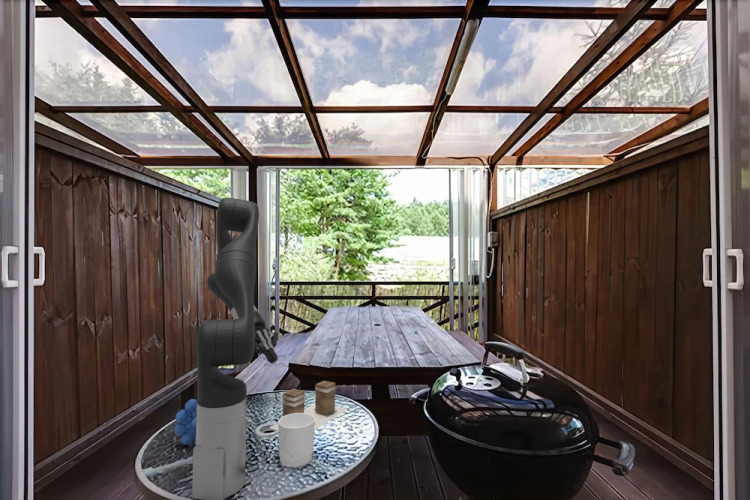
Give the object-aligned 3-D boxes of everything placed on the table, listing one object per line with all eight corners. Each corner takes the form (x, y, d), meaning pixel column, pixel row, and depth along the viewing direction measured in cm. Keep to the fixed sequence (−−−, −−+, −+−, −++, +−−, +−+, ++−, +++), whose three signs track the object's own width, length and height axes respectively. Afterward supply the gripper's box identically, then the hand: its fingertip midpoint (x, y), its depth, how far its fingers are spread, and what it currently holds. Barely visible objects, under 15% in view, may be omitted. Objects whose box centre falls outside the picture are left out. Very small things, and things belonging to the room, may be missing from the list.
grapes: (228, 436, 96) (229, 389, 96) (219, 449, 89) (220, 398, 89) (181, 437, 95) (182, 390, 95) (169, 451, 88) (170, 399, 88)
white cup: (318, 457, 86) (318, 413, 86) (308, 477, 78) (309, 428, 78) (284, 455, 87) (285, 411, 87) (272, 474, 79) (273, 426, 79)
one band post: (314, 412, 107) (315, 384, 107) (323, 407, 110) (324, 380, 111) (326, 415, 105) (326, 387, 105) (335, 410, 108) (335, 382, 108)
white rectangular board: (268, 433, 97) (268, 427, 97) (318, 406, 115) (319, 401, 115) (301, 444, 92) (301, 437, 92) (348, 414, 110) (348, 408, 110)
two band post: (282, 423, 99) (282, 393, 100) (292, 417, 103) (293, 388, 103) (293, 426, 97) (294, 396, 98) (304, 420, 101) (304, 391, 101)
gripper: (236, 312, 113) (264, 358, 106) (269, 308, 124) (296, 349, 117) (224, 328, 115) (251, 374, 108) (257, 322, 126) (283, 364, 120)
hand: (274, 361), depth 113 cm, fingers closed
